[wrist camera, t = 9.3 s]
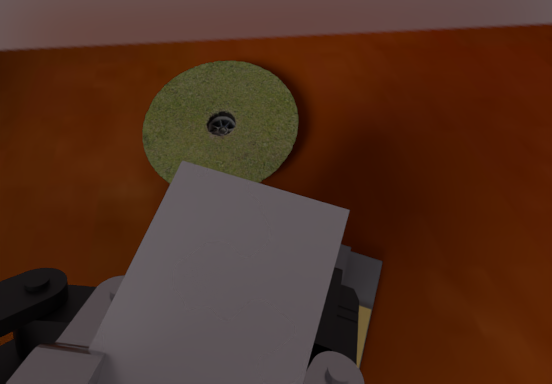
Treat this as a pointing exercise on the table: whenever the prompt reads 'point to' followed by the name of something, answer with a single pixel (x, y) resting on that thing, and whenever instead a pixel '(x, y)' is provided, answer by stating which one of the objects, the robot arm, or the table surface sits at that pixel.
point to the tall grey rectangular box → (222, 286)
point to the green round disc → (221, 121)
